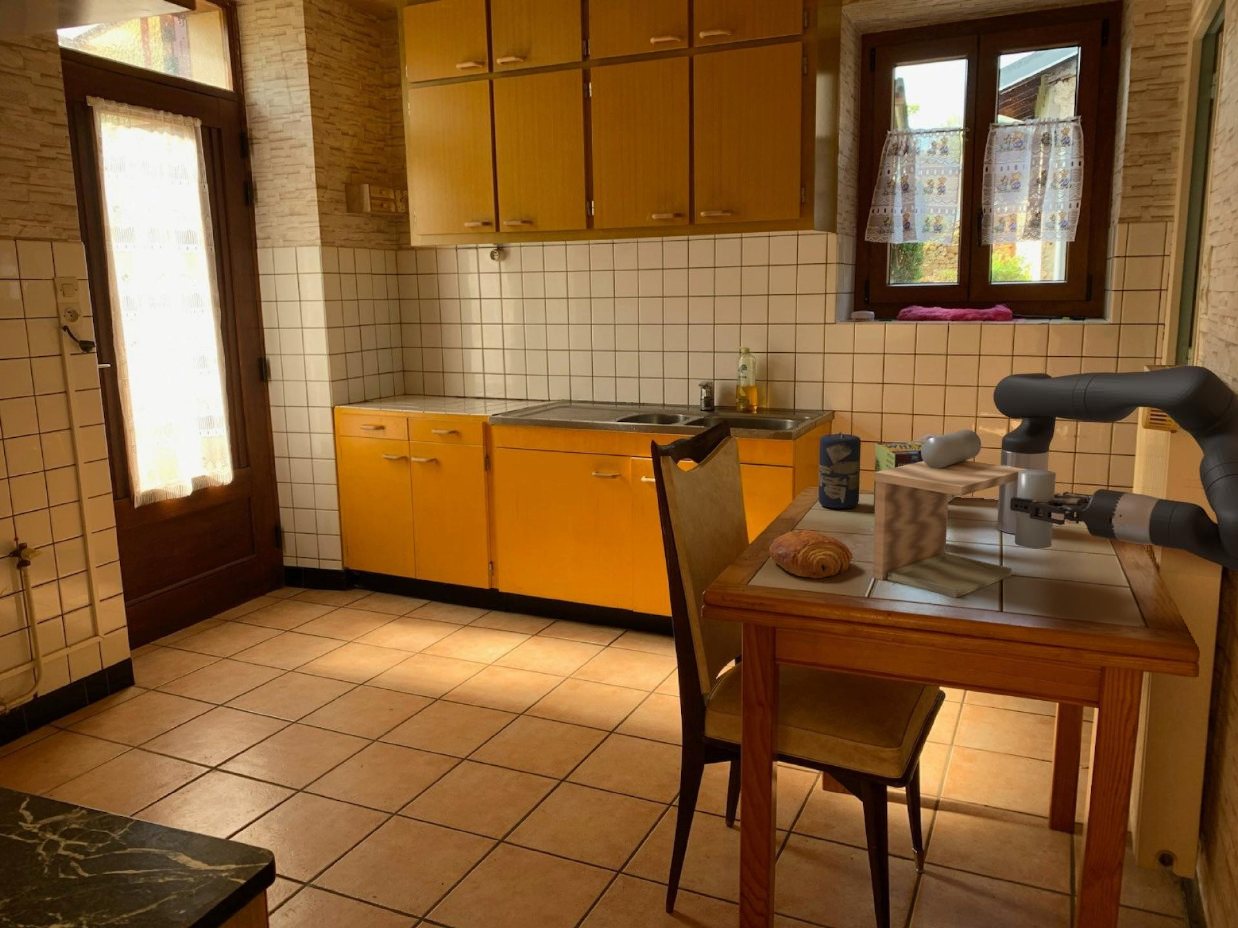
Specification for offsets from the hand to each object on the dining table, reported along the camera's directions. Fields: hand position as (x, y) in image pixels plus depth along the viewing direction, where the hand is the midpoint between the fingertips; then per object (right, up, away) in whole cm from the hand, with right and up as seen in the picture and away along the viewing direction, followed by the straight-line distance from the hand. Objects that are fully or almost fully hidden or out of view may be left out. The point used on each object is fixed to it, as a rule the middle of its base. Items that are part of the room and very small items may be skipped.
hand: (1021, 500), depth 156 cm
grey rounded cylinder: (+2, -7, -1) cm, 7 cm away
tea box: (+11, -2, +76) cm, 77 cm away
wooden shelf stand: (-8, -14, +13) cm, 21 cm away
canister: (-15, -4, +68) cm, 70 cm away
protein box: (-1, -6, +60) cm, 60 cm away
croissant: (-31, -14, +21) cm, 40 cm away
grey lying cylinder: (-10, +8, +11) cm, 17 cm away
